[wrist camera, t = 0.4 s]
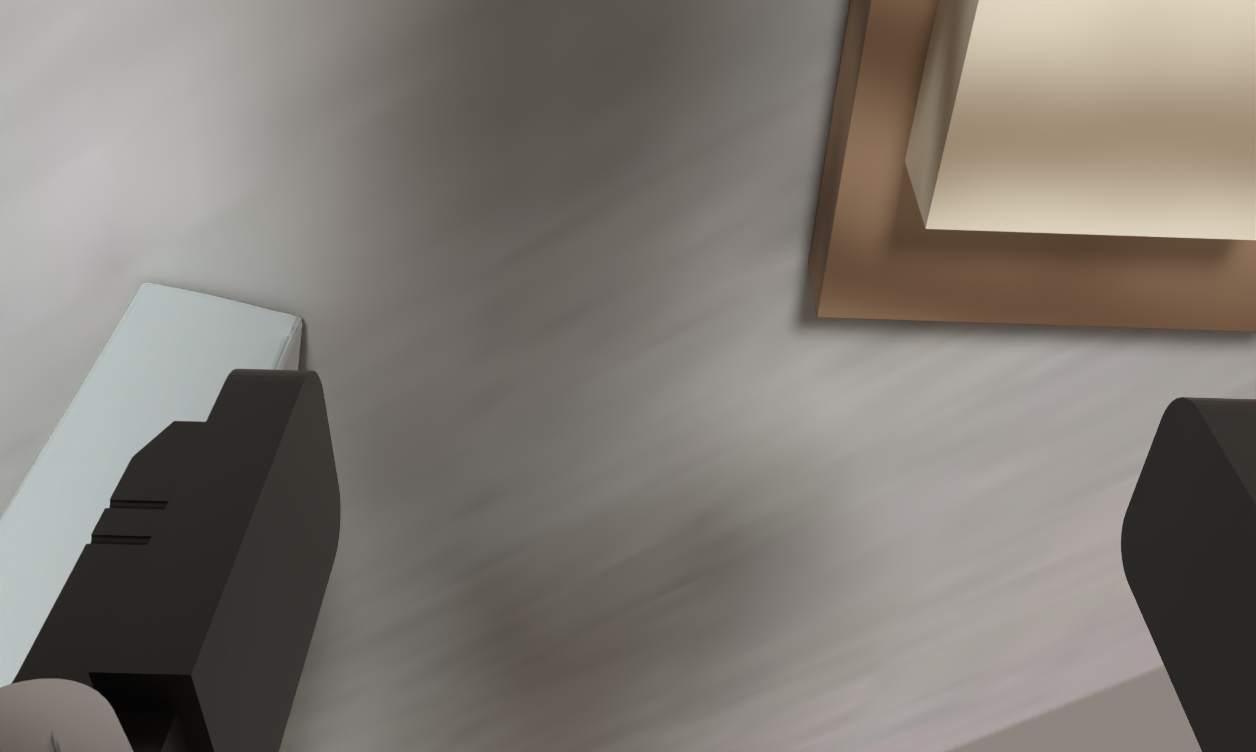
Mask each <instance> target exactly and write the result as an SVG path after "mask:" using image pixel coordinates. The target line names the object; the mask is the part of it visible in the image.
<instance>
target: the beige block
mask: <svg viewBox="0 0 1256 752" xmlns="http://www.w3.org/2000/svg"><path fill="white" fill-rule="evenodd" d="M905 163H906V167H907V170H908V173H909V177H910V180H911V183H912V186H913V190H914V193H915V196H916V199H917V203H918V206H919V209H920V212H921V216H922V219H923V222H924V226H925V229H944V230H973V231H1002V232H1031V233H1060V234H1089V235H1118V236H1147V237H1176V238H1206V239H1235V240H1256V0H938V4H937V9H936V14H935V19H934V24H933V28H932V33H931V38H930V43H929V47H928V52H927V57H926V62H925V66H924V71H923V76H922V81H921V86H920V90H919V95H918V100H917V105H916V109H915V114H914V119H913V124H912V128H911V133H910V138H909V143H908V148H907V152H906V157H905Z"/></svg>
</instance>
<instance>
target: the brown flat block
mask: <svg viewBox="0 0 1256 752" xmlns="http://www.w3.org/2000/svg"><path fill="white" fill-rule="evenodd" d="M937 4H938V0H850V6H849V12H848V18H847V25H846V31H845V37H844V44H843V50H842V56H841V62H840V69H839V75H838V81H837V88H836V94H835V100H834V106H833V113H832V119H831V125H830V132H829V138H828V144H827V151H826V157H825V163H824V169H823V176H822V182H821V188H820V195H819V201H818V207H817V213H816V220H815V226H814V232H813V239H812V245H811V251H810V257H809V270H810V276H811V282H812V288H813V294H814V300H815V306H816V312H817V317H831V318H861V319H890V320H920V321H950V322H979V323H1009V324H1038V325H1068V326H1097V327H1127V328H1156V329H1186V330H1215V331H1245V332H1256V240H1235V239H1206V238H1176V237H1147V236H1118V235H1089V234H1060V233H1031V232H1002V231H973V230H944V229H925V226H924V222H923V219H922V216H921V212H920V209H919V206H918V203H917V199H916V196H915V193H914V190H913V186H912V183H911V180H910V177H909V173H908V170H907V167H906V163H905V157H906V152H907V148H908V143H909V138H910V133H911V128H912V124H913V119H914V114H915V109H916V105H917V100H918V95H919V90H920V86H921V81H922V76H923V71H924V66H925V62H926V57H927V52H928V47H929V43H930V38H931V33H932V28H933V24H934V19H935V14H936V9H937Z"/></svg>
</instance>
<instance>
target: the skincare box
mask: <svg viewBox="0 0 1256 752" xmlns="http://www.w3.org/2000/svg"><path fill="white" fill-rule="evenodd" d="M301 333H302V319H301V318H300V317H298V316H295V315H291V314H287V313H282V312H278V311H274V310H270V309H266V308H262V307H258V306H254V305H250V304H246V303H242V302H238V301H234V300H230V299H226V298H221V297H217V296H213V295H209V294H204V293H200V292H195V291H190V290H185V289H180V288H175V287H169V286H164V285H159V284H154V283H149V282H148V283H143V284H142V285H141V286H140V288H139V290H138V291H137V293H136V294H135V296H134V298H133V299H132V301H131V303H130V304H129V306H128V308H127V309H126V311H125V313H124V314H123V316H122V318H121V319H120V321H119V323H118V324H117V326H116V328H115V329H114V331H113V333H112V334H111V336H110V338H109V339H108V341H107V343H106V344H105V346H104V348H103V349H102V351H101V353H100V354H99V356H98V358H97V359H96V361H95V362H94V364H93V366H92V367H91V369H90V371H89V372H88V374H87V376H86V377H85V379H84V381H83V382H82V384H81V386H80V387H79V389H78V391H77V392H76V394H75V396H74V397H73V399H72V401H71V402H70V404H69V406H68V407H67V409H66V411H65V412H64V414H63V416H62V417H61V419H60V421H59V422H58V424H57V425H56V427H55V429H54V430H53V432H52V434H51V435H50V437H49V439H48V440H47V442H46V444H45V445H44V447H43V449H42V450H41V452H40V453H39V455H38V457H37V458H36V460H35V462H34V463H33V465H32V467H31V468H30V470H29V472H28V473H27V475H26V476H25V478H24V480H23V481H22V483H21V485H20V486H19V488H18V490H17V491H16V493H15V495H14V496H13V498H12V500H11V501H10V503H9V504H8V506H7V508H6V509H5V511H4V513H3V514H2V516H1V518H0V688H1V687H3V686H6V685H10V684H11V683H12V681H13V680H14V678H15V677H16V675H17V673H18V671H19V670H20V668H21V666H22V664H23V662H24V660H25V658H26V656H27V654H28V653H29V651H30V649H31V647H32V645H33V643H34V641H35V639H36V637H37V636H38V634H39V632H40V630H41V628H42V626H43V624H44V622H45V620H46V619H47V617H48V615H49V613H50V611H51V609H52V607H53V605H54V604H55V602H56V600H57V598H58V596H59V594H60V592H61V590H62V588H63V587H64V585H65V583H66V581H67V579H68V577H69V575H70V573H71V571H72V570H73V568H74V566H75V564H76V562H77V560H78V558H79V556H80V554H81V553H82V551H83V549H84V547H85V545H86V544H90V543H91V534H92V532H93V530H94V528H95V526H96V524H97V522H98V521H99V519H100V517H101V515H102V513H103V511H104V509H105V508H109V507H110V498H111V496H112V494H113V492H114V490H115V488H116V487H117V485H118V483H119V481H120V479H121V477H122V475H123V473H124V472H125V470H126V468H127V466H128V464H129V462H130V460H131V458H132V457H133V456H134V455H135V454H136V453H137V452H139V451H140V450H141V449H142V448H143V447H144V446H146V445H147V444H148V443H149V442H150V441H151V440H153V439H154V438H155V437H156V436H157V435H158V434H160V433H161V432H162V431H163V430H164V429H165V428H166V427H168V426H169V425H170V424H171V423H172V422H173V421H198V422H206V420H207V418H208V416H209V414H210V412H211V410H212V408H213V406H214V404H215V401H216V399H217V397H218V395H219V393H220V391H221V389H222V387H223V384H224V382H225V380H226V378H227V377H228V375H229V374H230V372H231V371H232V370H234V369H269V370H298V365H299V354H300V343H301Z"/></svg>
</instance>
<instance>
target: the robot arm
mask: <svg viewBox="0 0 1256 752" xmlns="http://www.w3.org/2000/svg"><path fill="white" fill-rule="evenodd" d="M339 530H340V493H339V486H338V479H337V473H336V467H335V461H334V455H333V449H332V443H331V437H330V430H329V424H328V418H327V412H326V406H325V400H324V394H323V388H322V384H321V381H320V378H319V376H318V374H317V373H316V372H315V371H305V370H269V369H234V370H232V371H231V372H230V374H229V375H228V377H227V378H226V380H225V382H224V384H223V387H222V389H221V391H220V393H219V395H218V397H217V399H216V401H215V404H214V406H213V408H212V410H211V412H210V414H209V416H208V418H207V420H206V422H198V421H173V422H172V423H171V424H170V425H169V426H168V427H166V428H165V429H164V430H163V431H162V432H161V433H160V434H158V435H157V436H156V437H155V438H154V439H153V440H151V441H150V442H149V443H148V444H147V445H146V446H144V447H143V448H142V449H141V450H140V451H139V452H137V453H136V454H135V455H134V456H133V457H132V458H131V460H130V462H129V464H128V466H127V468H126V470H125V472H124V473H123V475H122V477H121V479H120V481H119V483H118V485H117V487H116V488H115V490H114V492H113V494H112V496H111V498H110V507H109V508H105V509H104V511H103V513H102V515H101V517H100V519H99V521H98V522H97V524H96V526H95V528H94V530H93V532H92V534H91V543H90V544H86V545H85V547H84V549H83V551H82V553H81V554H80V556H79V558H78V560H77V562H76V564H75V566H74V568H73V570H72V571H71V573H70V575H69V577H68V579H67V581H66V583H65V585H64V587H63V588H62V590H61V592H60V594H59V596H58V598H57V600H56V602H55V604H54V605H53V607H52V609H51V611H50V613H49V615H48V617H47V619H46V620H45V622H44V624H43V626H42V628H41V630H40V632H39V634H38V636H37V637H36V639H35V641H34V643H33V645H32V647H31V649H30V651H29V653H28V654H27V656H26V658H25V660H24V662H23V664H22V666H21V668H20V670H19V671H18V673H17V675H16V677H15V678H14V680H13V681H12V683H11V684H10V685H6V686H3V687H1V688H0V752H278V751H279V748H280V744H281V741H282V738H283V734H284V731H285V727H286V724H287V720H288V717H289V714H290V710H291V707H292V703H293V700H294V696H295V693H296V690H297V686H298V683H299V679H300V676H301V672H302V669H303V665H304V662H305V659H306V655H307V652H308V648H309V645H310V641H311V638H312V635H313V631H314V628H315V624H316V621H317V617H318V614H319V611H320V607H321V604H322V600H323V597H324V593H325V590H326V587H327V583H328V580H329V576H330V573H331V569H332V566H333V563H334V559H335V555H336V551H337V546H338V539H339ZM1121 553H1122V562H1123V567H1124V571H1125V575H1126V578H1127V581H1128V583H1129V586H1130V588H1131V590H1132V593H1133V595H1134V597H1135V599H1136V602H1137V604H1138V606H1139V609H1140V611H1141V613H1142V615H1143V618H1144V620H1145V622H1146V625H1147V627H1148V629H1149V631H1150V634H1151V636H1152V638H1153V640H1154V643H1155V645H1156V647H1157V650H1158V652H1159V654H1160V656H1161V659H1162V661H1163V663H1164V666H1165V668H1166V670H1167V672H1168V674H1169V677H1170V679H1171V682H1172V684H1173V686H1174V688H1175V691H1176V693H1177V695H1178V697H1179V700H1180V702H1181V704H1182V706H1183V709H1184V711H1185V713H1186V716H1187V718H1188V720H1189V723H1190V725H1191V727H1192V729H1193V731H1194V734H1195V736H1196V739H1197V741H1198V743H1199V745H1200V748H1201V750H1202V752H1256V399H1221V398H1185V397H1181V398H1177V399H1175V400H1174V401H1172V402H1171V403H1170V404H1169V406H1168V407H1167V409H1166V410H1165V412H1164V414H1163V416H1162V419H1161V421H1160V424H1159V427H1158V429H1157V432H1156V435H1155V437H1154V440H1153V442H1152V445H1151V448H1150V450H1149V453H1148V456H1147V458H1146V461H1145V464H1144V466H1143V469H1142V471H1141V474H1140V477H1139V479H1138V482H1137V485H1136V487H1135V490H1134V492H1133V495H1132V498H1131V500H1130V503H1129V506H1128V508H1127V511H1126V514H1125V517H1124V521H1123V526H1122V534H1121Z"/></svg>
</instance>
